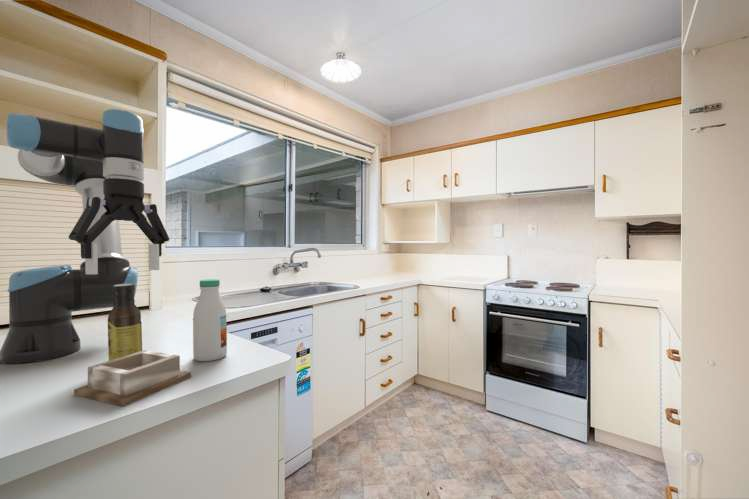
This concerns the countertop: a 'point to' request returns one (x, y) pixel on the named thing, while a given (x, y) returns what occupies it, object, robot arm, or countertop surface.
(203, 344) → the milk bottle
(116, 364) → the socket board
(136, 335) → the sauce bottle
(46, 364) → the countertop surface
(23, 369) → the countertop surface
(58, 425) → the countertop surface
